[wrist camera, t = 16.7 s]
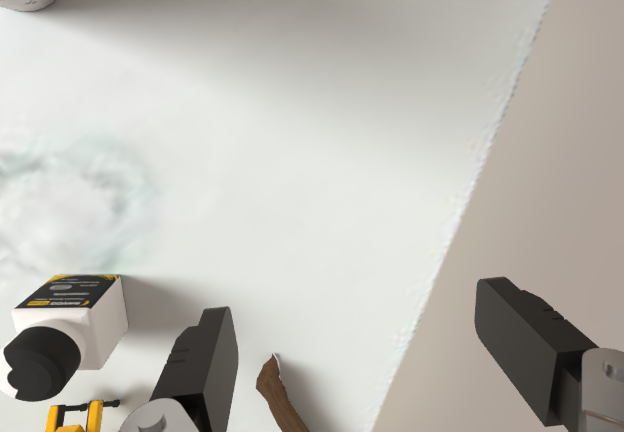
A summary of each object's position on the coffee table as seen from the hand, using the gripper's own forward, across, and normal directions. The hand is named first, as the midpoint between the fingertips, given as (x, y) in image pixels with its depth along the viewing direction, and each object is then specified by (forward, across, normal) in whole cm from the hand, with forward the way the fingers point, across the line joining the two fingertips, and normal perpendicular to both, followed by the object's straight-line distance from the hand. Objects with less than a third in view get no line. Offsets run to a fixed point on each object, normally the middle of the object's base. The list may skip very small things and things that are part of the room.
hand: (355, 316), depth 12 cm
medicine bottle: (+28, +26, +14) cm, 41 cm away
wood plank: (+28, +5, +31) cm, 43 cm away
